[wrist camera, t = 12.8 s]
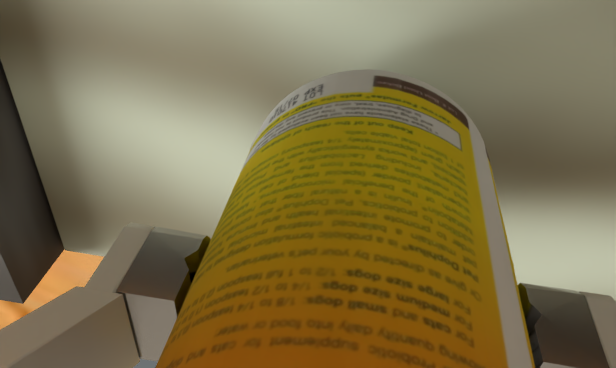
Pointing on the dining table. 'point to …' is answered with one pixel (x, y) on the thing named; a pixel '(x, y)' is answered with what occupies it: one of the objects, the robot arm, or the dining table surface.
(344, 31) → the open wooden crate
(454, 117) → the supplement bottle
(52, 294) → the dining table surface
